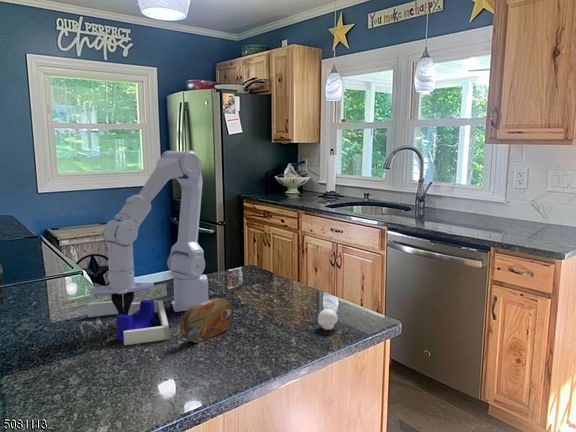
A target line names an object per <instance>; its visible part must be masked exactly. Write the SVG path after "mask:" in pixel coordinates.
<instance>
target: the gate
mask: <svg viewBox="0 0 576 432" xmlns="http://www.w3.org/2000/svg"><path fill="white" fill-rule="evenodd" d="M86 305H87V317H88V318H94V317H95V318H96V317H102V316H111V315H119V313H118V311H117V309H116V307H115V305H114V304H113V302H112V300H110V301H100V302H91V303H87V304H86Z"/></svg>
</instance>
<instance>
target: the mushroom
mask: <svg viewBox="0 0 576 432" xmlns="http://www.w3.org/2000/svg"><path fill="white" fill-rule="evenodd" d="M338 319H339V318H338V314H337V313H336V312H335V311H334V310H333V309H330V308H326V309H325V308H324V309H323V310H321V311H320V312H319V313H318V317H317V322H318V324H319V326H321V328H322V329H323V330H327V331H328V330H332V329H333V328H334V327H335V324H337V322H338Z"/></svg>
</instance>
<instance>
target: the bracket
mask: <svg viewBox="0 0 576 432" xmlns="http://www.w3.org/2000/svg"><path fill="white" fill-rule="evenodd" d="M153 301H154V313H158V318H159V321H160V326H159V325H158V326H152V327H151V326H149V327H148V328H142V329H134V330H126V331H124V341H123V345H124V346H128V345H135V344H144V343H151V342H158V341H159V342H160V341H165V340H170V326H169V322H168V317H167V314H166V310H165V306H164V303H163V299H157V300H153ZM140 302H141V301H138V302H132V304H131V306H130V309H129V312H128V315H131V316H132V315H133V314H134V313H135V312H137V311H138V310H140Z"/></svg>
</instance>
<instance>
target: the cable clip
mask: <svg viewBox="0 0 576 432" xmlns="http://www.w3.org/2000/svg"><path fill="white" fill-rule="evenodd" d="M139 302H140V310H138V311H137V312H135V313H134V314H133V315H122V314H120V315H119V314H118V315H117V316H116V323H117V325H116V327H117V341H118V340H120V341H119V342H124V331H126V330H134V329H142V328H150V327H151V326H152V325H153V324H155V322H156V321H155V320H156V319H155V312H154V300H151V299H142V300H140V301H139Z"/></svg>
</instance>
